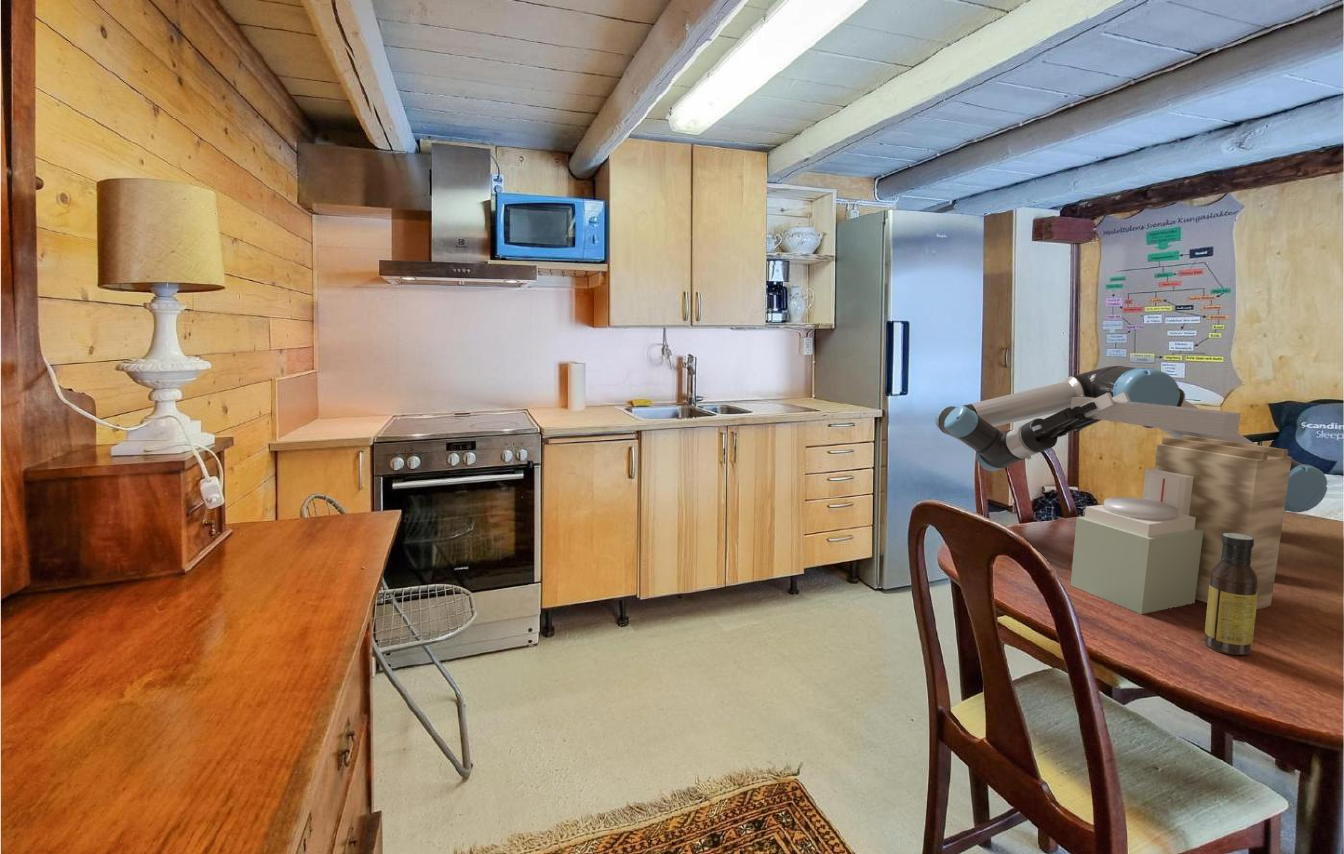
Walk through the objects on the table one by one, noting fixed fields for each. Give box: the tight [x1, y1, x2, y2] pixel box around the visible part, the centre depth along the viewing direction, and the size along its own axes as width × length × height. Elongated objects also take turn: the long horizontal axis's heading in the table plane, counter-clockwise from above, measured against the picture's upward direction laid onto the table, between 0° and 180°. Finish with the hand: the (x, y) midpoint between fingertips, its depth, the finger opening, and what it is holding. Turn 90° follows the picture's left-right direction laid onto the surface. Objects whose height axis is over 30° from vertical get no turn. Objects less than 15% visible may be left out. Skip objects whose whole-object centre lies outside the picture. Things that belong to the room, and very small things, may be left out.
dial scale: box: [1084, 468, 1196, 537], centre depth 130 cm, size 13×15×10 cm
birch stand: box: [1154, 435, 1293, 611], centre depth 131 cm, size 18×10×32 cm, turn 19°
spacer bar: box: [1071, 397, 1241, 436], centre depth 128 cm, size 30×4×4 cm, turn 19°
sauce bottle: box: [1204, 533, 1258, 656], centre depth 109 cm, size 6×6×20 cm
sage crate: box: [1070, 516, 1203, 615], centre depth 132 cm, size 15×15×15 cm
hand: (1119, 398), depth 133 cm, fingers closed on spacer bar, 4 cm apart
